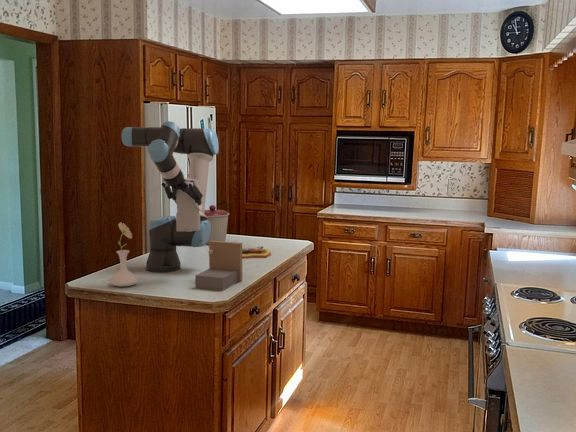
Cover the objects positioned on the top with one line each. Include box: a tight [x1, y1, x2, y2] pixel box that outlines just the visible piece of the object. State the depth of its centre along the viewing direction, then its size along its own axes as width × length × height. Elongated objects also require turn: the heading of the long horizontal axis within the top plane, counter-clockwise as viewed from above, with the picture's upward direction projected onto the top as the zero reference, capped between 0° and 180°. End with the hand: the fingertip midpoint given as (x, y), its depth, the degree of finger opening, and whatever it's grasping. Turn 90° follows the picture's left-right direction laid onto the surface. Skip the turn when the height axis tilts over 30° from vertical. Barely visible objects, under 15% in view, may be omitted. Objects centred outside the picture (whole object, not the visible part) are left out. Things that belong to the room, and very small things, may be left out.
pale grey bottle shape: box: [175, 177, 201, 232], centre depth 249 cm, size 11×4×22 cm, turn 105°
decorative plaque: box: [232, 240, 272, 260], centre depth 298 cm, size 30×7×20 cm
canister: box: [204, 204, 230, 246], centre depth 325 cm, size 18×18×21 cm
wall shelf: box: [195, 241, 243, 291], centre depth 240 cm, size 14×16×16 cm
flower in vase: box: [108, 222, 139, 287], centre depth 238 cm, size 13×11×25 cm
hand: (191, 208), depth 252 cm, fingers closed on pale grey bottle shape, 8 cm apart
